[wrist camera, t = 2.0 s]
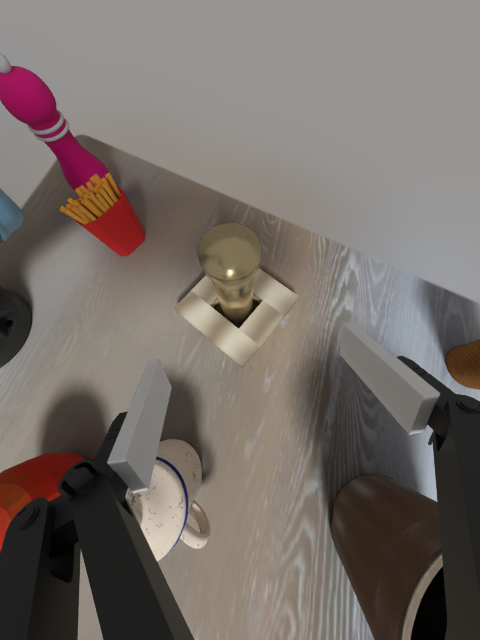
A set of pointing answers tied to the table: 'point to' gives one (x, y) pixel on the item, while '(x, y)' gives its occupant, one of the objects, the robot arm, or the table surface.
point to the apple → (31, 484)
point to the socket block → (253, 330)
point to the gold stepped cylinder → (231, 266)
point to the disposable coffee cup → (465, 364)
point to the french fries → (107, 215)
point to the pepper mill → (46, 122)
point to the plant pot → (392, 557)
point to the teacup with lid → (171, 499)
